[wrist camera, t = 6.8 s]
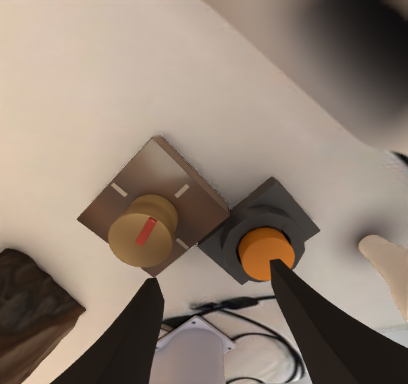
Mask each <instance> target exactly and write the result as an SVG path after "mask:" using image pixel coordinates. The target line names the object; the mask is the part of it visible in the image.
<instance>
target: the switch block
mask: <svg viewBox="0 0 408 384" xmlns="http://www.w3.org/2000/svg"><path fill="white" fill-rule="evenodd" d="M229 213H230V216H229V217H228V218H226V219H225V220H224V221H223V222H221V223H220V224H219V225H218V226H217V227H215V228H214V229H213V230H212V231H210V232H209V233H208V234H207V235H206V236H204V237H203V238H202V239H201V240H199V241H198V247H199V248H200V249H201V250H202V251H203V252H204V253H206V254H207V255H208V256H209V257H210V258H211V259H212V260H214V261H215V262H216V263H217V264H218V265H219V266H220V267H222V268H223V269H224V270H225V271H226V272H227V273H228V274H230V275H231V276H232V277H233V278H234V279H235V280H236V281H238V282H239V283H240V284H241V285H243V284H244V283H246V282H247V281H254V282H264V281H263V280H257V279H254V278H252V277H251V276H249V275H248V274H247V273H246V272H245V270H244V268H243V266H242V262H241V258H240V255H239V244H240V242H241V240H242V238H243V237H244V236H245V235H246V234H247V233H248V232H250V231H251V230H253V229H256V228H260V227H270V228H274V229H276V230H278V231H280V232H281V233H282V234H283V235H284V237H285V238H286V240H287V241H288V242H289V244H290V245H291V247H292V248H293V250H294V254H295V259H294V263H293V265H292V267H291V270H293V269H294V268H295V267H296V266H297V264H298V262H299V260H300V259H301V257H302V255H303V253H304V251H305V247H304V242H305V241H307V240H308V239H309V238H311V237H312V236H314V235H315V234H317V233H318V232H320V229H319V228H318V227H317V226H316V225H315V223H314V222H313V221H312V220H311V219H310V218H309V216H308V215H307V214H306V213H305V212H304V211H303V209H302V208H301V207H300V206H299V205H298V203H297V202H296V201H295V200H294V199H293V198H292V196H291V195H290V194H289V193H288V192H287V191H286V189H285V188H284V187H283V186H282V185H281V183H280V182H279V181H278V180H276V179H275V178H274V177H271V178H270V179H268V180H267V181H266V182H265V183H264V184H262V185H261V186H260V187H259V188H258V189H256V190H255V191H254V192H253V193H251V194H250V195H249V196H248V197H247V198H245V199H244V200H243V201H242V202H241V203H239V204H238V205H237V206H236V207H235V208H233V209H232V210H231V211H230V212H229ZM268 281H269V280H268Z"/></svg>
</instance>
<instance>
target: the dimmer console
mask: <svg viewBox="0 0 408 384" xmlns="http://www.w3.org/2000/svg"><path fill="white" fill-rule="evenodd" d="M148 194H153V195H158V196H161V197H164V198H165V199H167V200H168V201H170V202H171V203H172V204H173V206H174V207H175V209H176V211H177V214H178V224H177V228H176V232H175V236H174V240H173V244H172V248H171V251H170V253H169V255H168V256H167V258H166V259H165V260H164V261H162V262H161V263H159V264H157V265H155V266H151V267H140V268H142V269H143V270H144V271H146V272H147V273H148V274H150V275H151V276H152V277H155V276H157V275H158V274H159V273H160V272H162V271H163V270H164V269H165V268H166V267H168V266H169V265H170V264H171V263H173V262H174V261H175V260H176V259H177V258H179V257H180V256H181V255H182V254H184V253H185V252H186V251H187V250H188V249H190V248H191V247H192V246H193V245H195V244H196V243H197V242H198V241H199V240H201V239H202V238H203V237H204V236H206V235H207V234H208V233H209V232H210V231H212V230H213V229H214V228H215V227H217V226H218V225H219V224H220V223H221V222H223V221H224V220H225V219H226V218H228V217H229V216H230V213H229V210H228V206H227V203H226V201H225V200H224V199H223V198H222V197H221V196H220V195H219V194H218V193H217V192H216V191H215V190H214V189H213V188H212V187H211V186H210V185H209V184H208V183H207V182H206V181H205V180H204V179H203V178H202V177H201V176H200V175H199V174H198V173H197V172H196V171H195V170H194V169H193V168H192V167H191V166H190V165H189V164H188V163H187V162H186V161H185V160H184V159H183V158H182V157H181V156H180V155H179V154H178V153H177V152H176V151H175V150H174V149H173V148H172V147H171V146H170V145H169V144H168V143H167V142H166V140H165V139H164V138H163V137H162V136H157V137H153V138H151V139H150V140H149V141H148V143H147V144H146V145H145V146H144V147H143V148H142V149H141V150H140V151H139V152H138V153H137V154H136V155H135V157H134V158H133V159H132V160H131V161H130V162H129V163H128V164H127V165H126V166H125V167H124V168H123V169H122V171H121V172H120V173H119V174H118V175H117V176H116V177H115V178H114V179H113V180H112V181H111V182H110V184H109V185H108V186H107V187H106V188H105V189H104V190H103V191H102V192H101V193H100V194H99V195H98V196H97V198H96V199H95V200H94V201H93V202H92V203H91V204H90V205H89V206H88V207H87V208H86V209H85V210H84V212H83V213H82V214H81V215H80V216H79V217H78V218H77V220H78V221H79V222H80V223H82V224H83V225H84V226H86V227H87V228H88V229H90V230H91V231H92V232H94V233H95V234H96V235H98V236H99V237H100V238H102V239H103V240H104V241H106V242H107V243H108V244H109V242H108V233H109V230H110V227H111V226H112V224H113V223H114V222H115V220H116V219H117V218H118V217H119V216H120V215H121V214H122V213H123V212H124V210H125V209H126V208H127V207H128V206H129V205H130V204H131V203H132V201H134V200H135V199H136V198H138V197H140V196H143V195H148Z"/></svg>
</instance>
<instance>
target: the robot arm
mask: <svg viewBox="0 0 408 384" xmlns="http://www.w3.org/2000/svg"><path fill="white" fill-rule="evenodd" d="M269 262H270V273H271V285H272V288H273V291H274V294H275V297H276V300H277V302H278V304H279V307H280V309H281V311H282V313H283V315H284V317H285V319H286V322H287V324H288V326H289V328H290V330H291V332H292V334H293V336H294V338H295V341H296V343H297V345H298V347H299V350H300V352H301V354H302V357H303V360H304V362H305V365H306V368H307V370H308V373H309V376H310V378H311V381H312V383H313V384H408V348H406V347H404V346H402V345H400V344H398V343H396V342H394V341H392V340H391V339H389V338H387V337H385V336H383V335H382V334H380V333H378V332H376V331H374V330H373V329H371V328H369V327H368V326H366V325H364V324H363V323H361V322H359V321H358V320H356V319H354V318H353V317H351V316H350V315H348V314H347V313H345V312H344V311H342V310H341V309H339V308H338V307H336V306H335V305H333V304H332V303H331V302H329V301H328V300H327V299H325V298H324V297H323V296H321V295H320V294H319V293H318V292H316V291H315V290H314V289H313V288H311V287H310V286H309V285H308V284H307V283H305V282H304V281H303V280H302V279H301V278H300V277H299V276H297V275H296V274H295V273H294V272H293V271H292V270H291V269H290V268H289V267H288V266H287V265H286V264H285V263H284V262H283V261H282V260H281V259H273V260H269ZM163 311H164V298H163V295H162V292H161V289H160V286H159V283H158V281H157V278H156V277H155V278H148V279H147V280H146V281H145V282H144V284H143V285H142V286H141V288H140V289H139V290H138V292H137V293H136V294H135V296H134V297H133V298H132V300H131V301H130V302H129V304H128V305H127V306H126V308H125V309H124V310H123V311H122V313H121V314H120V315H119V316H118V317H117V319H116V320H115V321H114V322H113V323H112V325H111V326H110V327H109V328H108V329H107V330H106V331H105V332H104V334H103V335H102V336H101V337H100V338H99V339H98V340H97V341H96V342H95V343H94V344H93V345H92V346H91V347H90V348H89V349H88V350H87V351H86V352H85V353H84V354H83V355H82V356H81V357H80V358H79V359H78V360H76V361H75V362H74V363H73V364H72V365H71V366H70V367H69V368H68V369H66V370H65V371H64V372H63V373H62V374H61V375H60V376H58V377H57V378H56V379H55V380H54V381H53V382H51V383H50V384H225V372H224V360H223V355H224V354H226V353H228V352H229V351H231V350H233V349H234V348H235V347H236V345H235V343H234V342H233V341H232V340H230V339H229V338H228V337H226V336H225V335H224V334H222V333H221V332H220V331H218V330H217V329H216V328H214V327H213V326H212V325H210V324H209V323H208V322H206V321H205V320H204V319H202V318H201V317H200V316H198V315H195V316H193V317H192V318H190V319H189V320H188V321H186V322H185V323H183V324H182V325H180V326H179V327H178V328H176V329H175V330H173V331H172V332H170V333H169V334H168V335H166V336H165V337H163V338H162V339H160V340H159V341H158V337H159V332H160V328H161V323H162V319H163Z"/></svg>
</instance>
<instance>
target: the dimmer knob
mask: <svg viewBox="0 0 408 384" xmlns="http://www.w3.org/2000/svg"><path fill="white" fill-rule="evenodd" d="M177 224H178V214H177V211H176V209H175V207H174V206H173V204H172V203H171V202H170V201H168V200H167V199H165V198H164V197H161V196H158V195H153V194H148V195H143V196H140V197H138V198H136V199H135V200H134V201H132V203H131V204H130V205H129V206H128V207H127V208H126V209H125V210H124V212H123V213H122V214H121V215H120V216H119V217H118V218H117V219H116V220H115V222H114V223H113V224H112V226H111V227H110V230H109V233H108V242H109V246H110V248H111V250H112V252H113V253H114V254H115V255H116V256H117V257H118V258H119V259H120V260H121V261H123V262H125V263H127V264H129V265H131V266H135V267H151V266H155V265H157V264H159V263H161V262H162V261H164V260H165V259H166V258H167V256H168V255H169V253H170V251H171V248H172V244H173V240H174V236H175V232H176V228H177Z"/></svg>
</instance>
